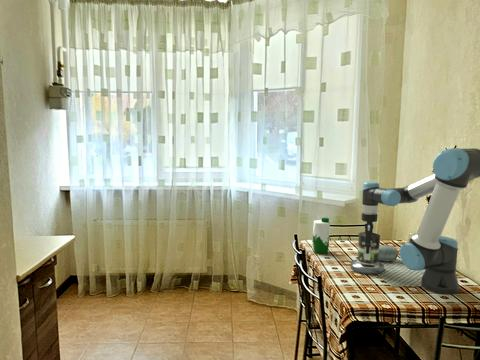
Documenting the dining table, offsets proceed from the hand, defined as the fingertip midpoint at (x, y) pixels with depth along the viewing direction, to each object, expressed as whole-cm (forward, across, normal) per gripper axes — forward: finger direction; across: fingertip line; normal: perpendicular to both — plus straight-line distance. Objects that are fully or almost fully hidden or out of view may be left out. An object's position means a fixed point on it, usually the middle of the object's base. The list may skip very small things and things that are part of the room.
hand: (367, 256), depth 190 cm
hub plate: (+7, 0, 0) cm, 7 cm away
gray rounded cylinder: (+7, -18, +8) cm, 21 cm away
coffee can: (+3, 0, 0) cm, 3 cm away
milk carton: (+7, -20, -26) cm, 34 cm away
